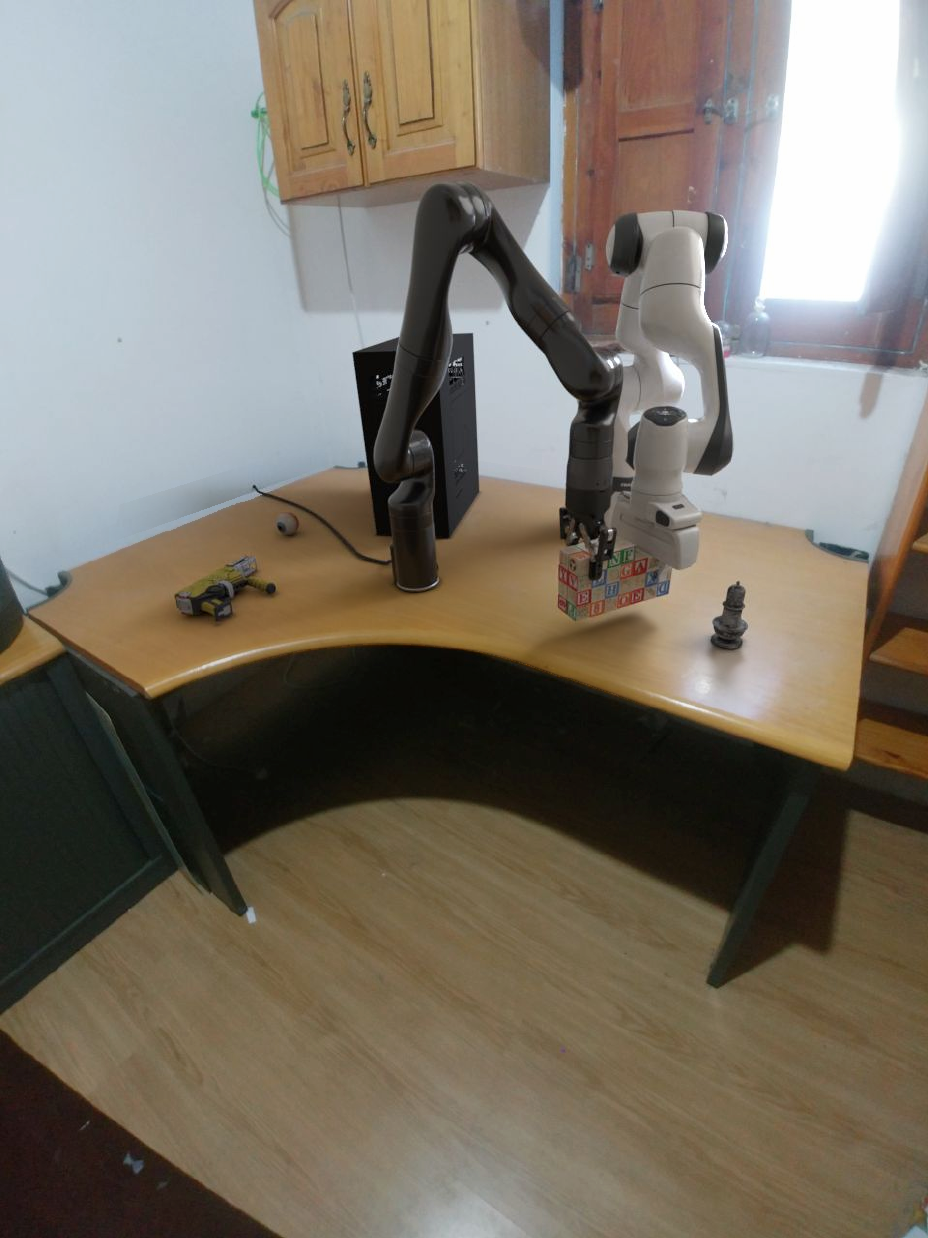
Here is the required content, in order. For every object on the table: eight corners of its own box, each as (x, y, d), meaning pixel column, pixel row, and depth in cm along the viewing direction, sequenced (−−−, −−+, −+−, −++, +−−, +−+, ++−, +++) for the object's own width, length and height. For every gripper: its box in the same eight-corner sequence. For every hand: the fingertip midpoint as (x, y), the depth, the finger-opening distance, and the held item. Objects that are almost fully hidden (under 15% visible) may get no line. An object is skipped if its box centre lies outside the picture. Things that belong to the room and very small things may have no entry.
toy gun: (297, 563, 140) (243, 552, 144) (229, 608, 120) (168, 594, 124) (299, 582, 142) (245, 570, 146) (233, 629, 122) (172, 614, 126)
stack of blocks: (647, 582, 121) (654, 524, 115) (669, 594, 116) (677, 535, 110) (556, 607, 114) (558, 547, 107) (575, 622, 109) (578, 560, 102)
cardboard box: (449, 537, 157) (436, 349, 134) (376, 534, 161) (352, 352, 139) (479, 491, 188) (473, 332, 166) (417, 489, 193) (403, 335, 170)
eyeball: (273, 537, 164) (268, 516, 161) (287, 528, 169) (282, 508, 166) (291, 539, 161) (286, 518, 158) (305, 530, 166) (301, 510, 163)
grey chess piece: (747, 650, 105) (760, 589, 99) (711, 648, 106) (722, 587, 100) (741, 633, 110) (753, 574, 104) (707, 631, 111) (717, 572, 105)
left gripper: (546, 473, 104) (544, 562, 113) (595, 496, 93) (589, 593, 101) (583, 466, 107) (578, 553, 115) (635, 488, 95) (625, 583, 104)
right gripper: (605, 490, 115) (600, 556, 122) (680, 524, 99) (670, 598, 106) (632, 485, 118) (626, 550, 124) (709, 516, 101) (698, 589, 108)
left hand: (583, 571), depth 108 cm, fingers closed on stack of blocks, 6 cm apart
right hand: (647, 572), depth 115 cm, fingers closed on stack of blocks, 6 cm apart
